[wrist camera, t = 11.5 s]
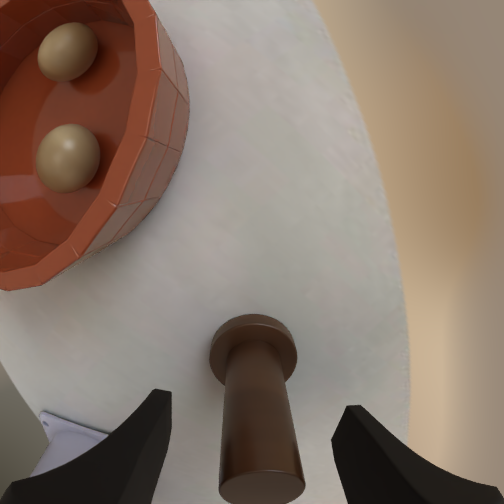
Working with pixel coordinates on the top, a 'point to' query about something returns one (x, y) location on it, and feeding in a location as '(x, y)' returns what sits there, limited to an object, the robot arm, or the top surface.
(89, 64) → the bead
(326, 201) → the top surface
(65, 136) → the bead
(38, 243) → the bowl
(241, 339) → the pestle
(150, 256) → the top surface
